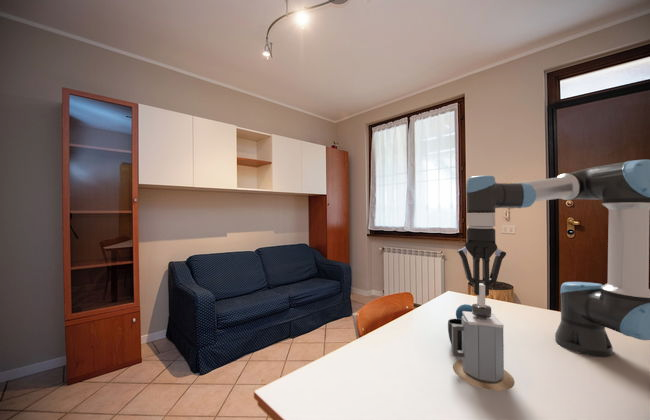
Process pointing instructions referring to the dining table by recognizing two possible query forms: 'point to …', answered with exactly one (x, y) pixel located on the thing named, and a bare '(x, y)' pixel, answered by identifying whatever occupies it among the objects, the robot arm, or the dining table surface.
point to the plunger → (481, 311)
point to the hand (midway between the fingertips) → (481, 305)
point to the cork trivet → (503, 385)
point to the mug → (459, 332)
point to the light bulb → (463, 308)
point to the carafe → (480, 347)
